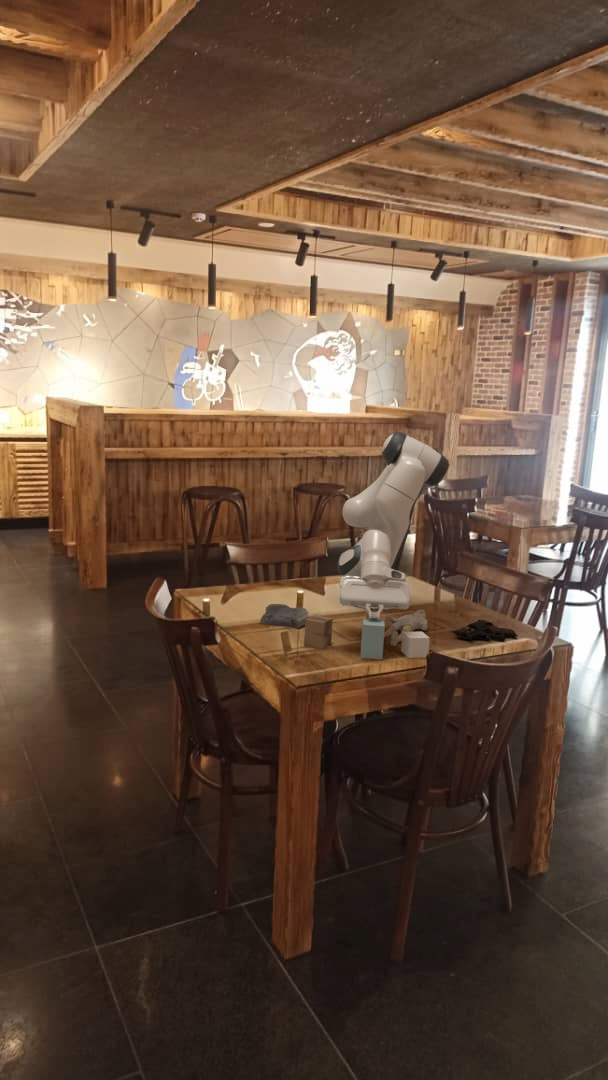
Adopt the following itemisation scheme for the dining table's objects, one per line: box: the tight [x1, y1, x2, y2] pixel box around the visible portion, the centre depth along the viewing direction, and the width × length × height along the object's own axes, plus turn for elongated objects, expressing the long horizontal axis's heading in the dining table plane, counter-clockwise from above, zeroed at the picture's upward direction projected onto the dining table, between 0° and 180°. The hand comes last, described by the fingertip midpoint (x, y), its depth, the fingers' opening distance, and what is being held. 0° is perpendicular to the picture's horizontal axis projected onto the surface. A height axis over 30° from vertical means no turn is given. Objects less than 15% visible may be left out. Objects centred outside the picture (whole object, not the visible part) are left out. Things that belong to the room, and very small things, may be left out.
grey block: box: [401, 631, 431, 659], centre depth 227 cm, size 6×6×6 cm
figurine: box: [384, 608, 429, 647], centre depth 248 cm, size 13×6×30 cm
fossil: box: [259, 603, 309, 630], centre depth 255 cm, size 15×16×4 cm
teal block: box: [360, 618, 386, 660], centre depth 223 cm, size 6×6×10 cm
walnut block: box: [303, 614, 334, 650], centre depth 231 cm, size 6×6×8 cm
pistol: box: [450, 619, 519, 643], centre depth 248 cm, size 4×19×15 cm
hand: (374, 619), depth 223 cm, fingers closed
